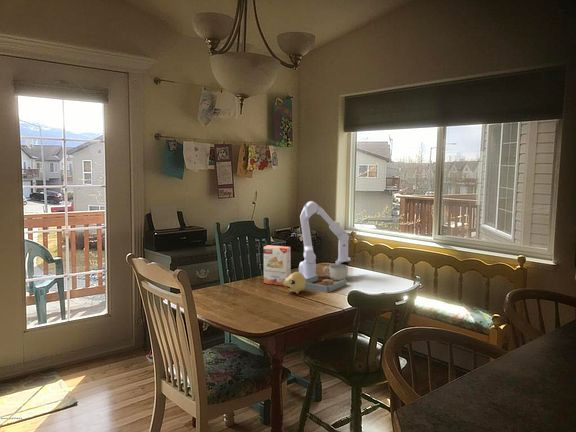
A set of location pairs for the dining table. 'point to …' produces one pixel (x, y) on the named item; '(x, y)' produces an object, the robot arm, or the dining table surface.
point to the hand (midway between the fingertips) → (343, 274)
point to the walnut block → (327, 282)
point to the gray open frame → (322, 287)
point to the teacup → (337, 271)
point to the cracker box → (276, 264)
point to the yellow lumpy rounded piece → (295, 282)
